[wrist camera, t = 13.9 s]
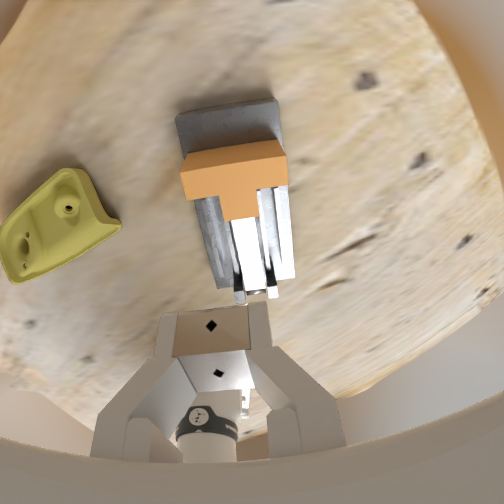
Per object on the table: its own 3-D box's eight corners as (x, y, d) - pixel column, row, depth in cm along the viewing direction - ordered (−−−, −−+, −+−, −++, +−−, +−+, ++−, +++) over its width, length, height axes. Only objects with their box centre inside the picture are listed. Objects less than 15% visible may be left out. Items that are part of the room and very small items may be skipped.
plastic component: (71, 159, 34) (102, 232, 35) (100, 163, 41) (128, 225, 42) (-10, 234, 37) (14, 293, 38) (20, 228, 44) (42, 281, 45)
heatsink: (291, 264, 48) (300, 299, 42) (217, 275, 48) (216, 311, 42) (274, 97, 34) (284, 108, 28) (179, 113, 34) (167, 128, 28)
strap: (265, 287, 42) (266, 294, 41) (247, 290, 42) (247, 297, 41) (251, 197, 34) (252, 203, 33) (228, 201, 34) (228, 207, 33)
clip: (283, 188, 37) (291, 212, 32) (198, 201, 38) (193, 226, 33) (277, 139, 34) (286, 155, 29) (187, 153, 34) (179, 172, 29)
